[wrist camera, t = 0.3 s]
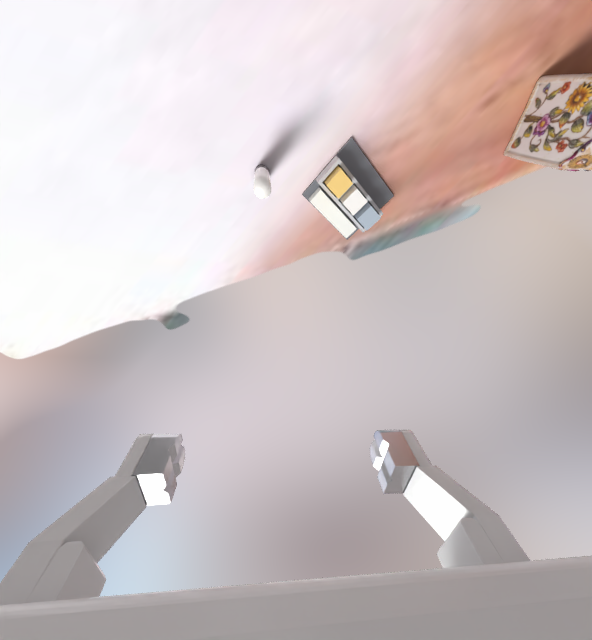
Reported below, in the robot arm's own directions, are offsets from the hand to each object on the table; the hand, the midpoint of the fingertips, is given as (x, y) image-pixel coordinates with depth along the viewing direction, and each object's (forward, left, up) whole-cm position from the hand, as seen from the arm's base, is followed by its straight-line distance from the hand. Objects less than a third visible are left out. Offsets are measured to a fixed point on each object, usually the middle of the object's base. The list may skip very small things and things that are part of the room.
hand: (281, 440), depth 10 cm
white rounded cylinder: (+1, 0, -51) cm, 51 cm away
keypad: (-8, +16, -51) cm, 54 cm away
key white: (-8, +16, -49) cm, 52 cm away
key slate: (-8, +21, -49) cm, 53 cm away
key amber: (-8, +11, -49) cm, 50 cm away
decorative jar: (-42, +34, -51) cm, 74 cm away
